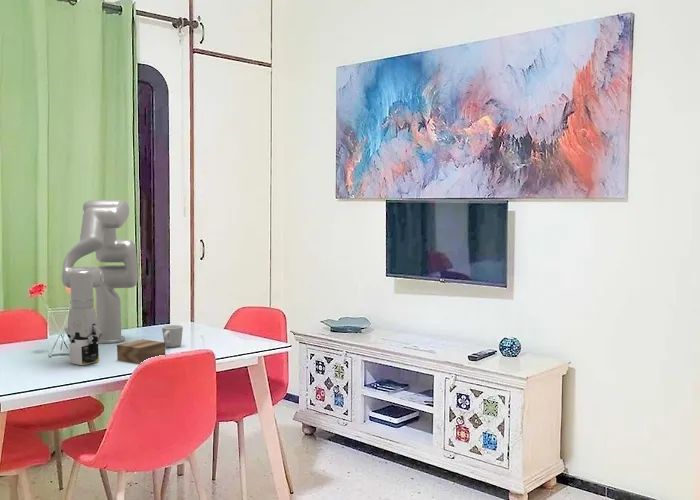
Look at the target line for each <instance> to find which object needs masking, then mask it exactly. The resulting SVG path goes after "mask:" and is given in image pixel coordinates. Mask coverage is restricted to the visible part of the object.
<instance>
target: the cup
mask: <svg viewBox="0 0 700 500" xmlns="http://www.w3.org/2000/svg"><path fill="white" fill-rule="evenodd" d="M161 329H162V330H161V331H162V336H163V337H162V338H163V342H165V348H178V347H180V346H181V345H182V340H183V329H184V326H183V325H181V324H168V325H164V326H162V327H161Z"/></svg>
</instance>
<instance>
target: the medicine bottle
mask: <svg viewBox="0 0 700 500" xmlns="http://www.w3.org/2000/svg"><path fill="white" fill-rule="evenodd" d="M91 335H92V334H91ZM74 337H75V343H71V342H70V343H69V344H68V347H69V363H70V364H73V365H78V366H86V365H90V364H94V363H98V362H100V361H99V360H100V359H99V358H100V355H99V343H98V342H97V353H96V354H93V355H89V344H90V342H89V340H88V338H87V337H80V333H78V332H75V336H74ZM91 338H92V339H93V337H91Z"/></svg>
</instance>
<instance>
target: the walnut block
mask: <svg viewBox="0 0 700 500" xmlns="http://www.w3.org/2000/svg"><path fill="white" fill-rule="evenodd" d="M116 352H117V353H116V357H117V358H116V360H117V361H120V362H125V363H131V364H136V365H137V364H138V365H141V364H140V363H141V362H143V361H144V360H146V359H148V358H151V357H155V356H159V355H165V356H166V346H165V342H164V341H158V340H157V341H156V340H150V339H143V338H142V339H139V340H133V341H129V342H125V343H120V344H117V345H116Z"/></svg>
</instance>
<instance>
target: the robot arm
mask: <svg viewBox="0 0 700 500" xmlns="http://www.w3.org/2000/svg"><path fill="white" fill-rule="evenodd" d="M82 210H83V211H82V212H83V214H82V220H81V228H80V234H79V242H78V243H76V244H75V245H74V246H73V247H72V248H71V249H70V250H69V251H68V253H67V254H66V255H65V257H64V259H63V260H64V261H63V265H62V271H61V281H62V284H63V286H65V287H66V288H69V289H70V302H69V303H70V308H69V309H68V310H69V311H68V318H67V327H66V328H65V329H64V332H65V333H66V335H67V338H68V339H69V342H70V343H75V337H74V336H75V332H78V333H80V337H87V338H88V340H89V342H90V344H89V355H93V354H96V353H97V342H98V344H115V343H116V344H117V343H120V342H121V343H122V342H124V341H125V340H126V336H124V335H122V313H121V312H122V311H121V310H122V309H121V304H122V303H121V297H120V295H119V294H118V292H117V291H116V290H115V289H132V288H135V287H136V286H137V284H138V281H139V276H138V275H139V273H138V261H137V260H138V259H137V257H138V255H137V248H136V247H137V246H136V244H135V242H134V241H133V240H131V239H127V238H126V239H123V238H122V239H118V237H117V229H120V228H122V226H124V224H125V223H126V221H127V219H128V218H129V213H130V208H129V204H128V202H126V201H125V200H122V199H93V200H87V201H85V202H84V203H83V205H82ZM92 253H95V257H96V260H97V261H99V262H100V263H107V265H100V266H97V267H96V266H76V267H75V264H76V262H77V261H79V260H80V259H81V258H83V257H85V256H87V255H90V254H92ZM108 263H113V264H112V265H111V264H108ZM115 263H123V264H115ZM94 289H95V298H96V299H95V300H96V307H95V304H94V303H95V302H94V301H95V300H94ZM95 308H96V309H95ZM91 334H92V335H91ZM91 337H93V339H92V338H91Z"/></svg>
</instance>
